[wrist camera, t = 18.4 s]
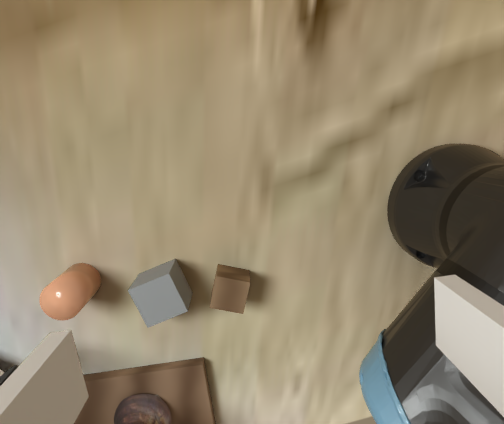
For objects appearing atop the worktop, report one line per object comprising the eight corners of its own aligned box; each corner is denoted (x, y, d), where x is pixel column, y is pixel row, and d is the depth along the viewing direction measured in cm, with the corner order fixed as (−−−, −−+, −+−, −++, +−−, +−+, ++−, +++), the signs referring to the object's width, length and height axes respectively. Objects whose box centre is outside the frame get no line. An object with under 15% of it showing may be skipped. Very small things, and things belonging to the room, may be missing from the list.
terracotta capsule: (96, 260, 45) (76, 279, 39) (104, 293, 46) (85, 317, 40) (60, 265, 45) (35, 285, 39) (69, 298, 46) (45, 322, 40)
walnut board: (203, 357, 49) (202, 364, 47) (221, 457, 52) (221, 466, 51) (67, 377, 48) (62, 385, 47) (94, 476, 52) (90, 486, 50)
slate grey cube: (175, 258, 46) (168, 273, 41) (192, 292, 47) (187, 311, 42) (139, 273, 46) (127, 290, 41) (156, 307, 47) (147, 327, 42)
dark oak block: (249, 269, 46) (250, 282, 43) (242, 298, 47) (243, 313, 43) (217, 263, 46) (216, 276, 42) (211, 293, 47) (209, 307, 43)
